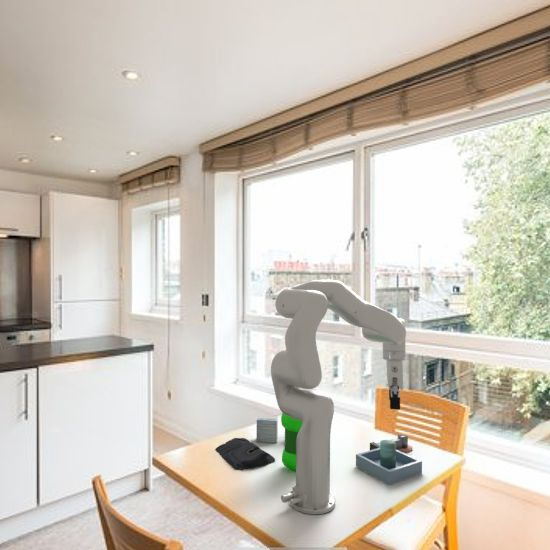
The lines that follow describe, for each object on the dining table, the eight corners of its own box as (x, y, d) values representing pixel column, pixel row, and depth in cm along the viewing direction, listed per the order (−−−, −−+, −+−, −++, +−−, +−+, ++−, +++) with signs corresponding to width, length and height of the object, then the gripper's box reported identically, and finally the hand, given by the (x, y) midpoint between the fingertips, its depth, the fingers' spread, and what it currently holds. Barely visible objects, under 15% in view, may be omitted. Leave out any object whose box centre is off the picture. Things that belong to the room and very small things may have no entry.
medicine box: (277, 439, 167) (277, 416, 167) (276, 443, 162) (276, 420, 162) (257, 438, 167) (258, 416, 167) (256, 442, 163) (256, 419, 163)
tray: (389, 484, 130) (389, 471, 130) (355, 466, 143) (355, 454, 143) (422, 473, 138) (422, 461, 138) (387, 456, 151) (387, 445, 151)
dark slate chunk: (249, 442, 164) (249, 430, 164) (278, 464, 145) (278, 450, 145) (212, 450, 156) (212, 437, 156) (237, 474, 137) (237, 459, 137)
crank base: (403, 453, 153) (403, 452, 153) (388, 447, 159) (388, 445, 159) (416, 449, 157) (416, 448, 157) (401, 443, 163) (401, 441, 163)
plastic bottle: (292, 478, 133) (292, 399, 134) (275, 466, 142) (275, 391, 143) (317, 471, 139) (318, 395, 139) (299, 459, 148) (300, 387, 148)
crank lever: (400, 443, 161) (400, 433, 161) (411, 447, 157) (411, 437, 157) (369, 451, 153) (369, 441, 153) (379, 456, 149) (379, 445, 149)
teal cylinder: (388, 471, 137) (388, 446, 137) (377, 465, 141) (377, 441, 141) (399, 468, 139) (399, 443, 140) (387, 462, 144) (387, 438, 144)
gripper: (407, 360, 135) (407, 413, 135) (403, 350, 152) (404, 397, 152) (383, 359, 137) (383, 412, 137) (382, 349, 154) (382, 396, 154)
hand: (394, 404), depth 145 cm, fingers open, 9 cm apart
